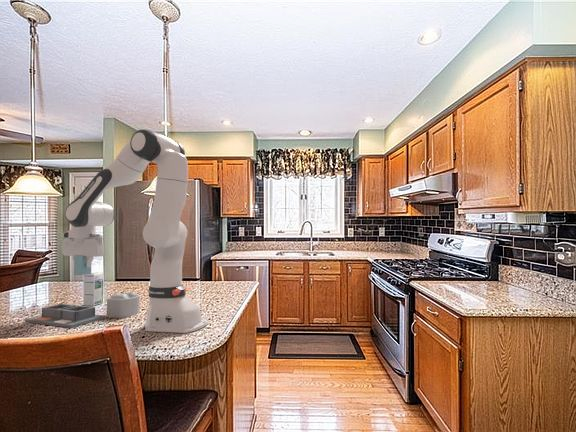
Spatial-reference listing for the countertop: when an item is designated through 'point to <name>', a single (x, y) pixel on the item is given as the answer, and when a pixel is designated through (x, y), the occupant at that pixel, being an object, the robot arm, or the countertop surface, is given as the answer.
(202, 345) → the countertop surface
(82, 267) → the teal upright block
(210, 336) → the countertop surface
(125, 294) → the lumpy-topped squat cylinder
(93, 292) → the syrup box
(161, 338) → the countertop surface
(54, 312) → the socket board
